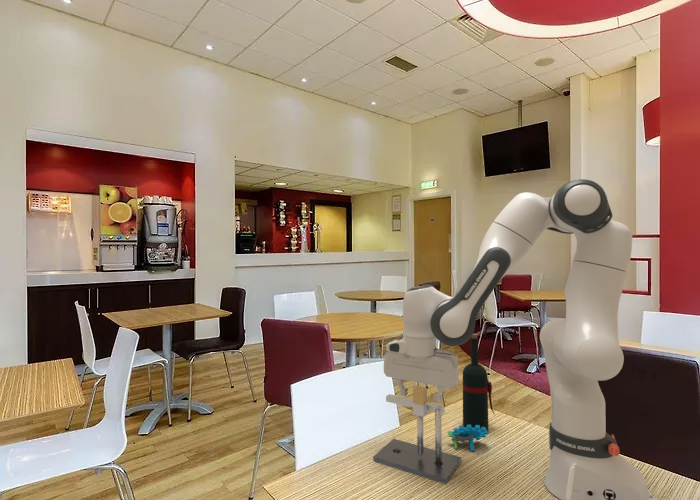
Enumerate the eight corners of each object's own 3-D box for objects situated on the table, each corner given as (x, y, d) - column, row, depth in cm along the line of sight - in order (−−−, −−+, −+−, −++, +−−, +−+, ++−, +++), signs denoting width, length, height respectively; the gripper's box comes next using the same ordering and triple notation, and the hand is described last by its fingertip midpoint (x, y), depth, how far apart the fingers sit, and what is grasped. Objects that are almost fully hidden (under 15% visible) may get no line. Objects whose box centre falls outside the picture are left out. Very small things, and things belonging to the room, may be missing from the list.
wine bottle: (499, 435, 120) (498, 336, 120) (466, 435, 120) (465, 336, 120) (490, 424, 127) (489, 331, 128) (459, 424, 128) (458, 331, 128)
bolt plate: (461, 461, 105) (460, 457, 105) (445, 484, 94) (445, 478, 94) (393, 442, 115) (393, 438, 115) (373, 460, 105) (373, 456, 105)
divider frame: (446, 458, 104) (445, 405, 104) (440, 465, 101) (440, 411, 101) (389, 442, 113) (389, 394, 113) (382, 448, 110) (382, 398, 110)
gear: (487, 435, 116) (486, 421, 110) (491, 456, 112) (491, 443, 105) (449, 437, 119) (446, 423, 112) (452, 458, 114) (449, 445, 108)
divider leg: (427, 455, 105) (426, 387, 105) (424, 459, 103) (423, 390, 103) (417, 452, 106) (416, 385, 106) (413, 455, 104) (412, 388, 104)
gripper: (461, 348, 102) (462, 402, 102) (391, 339, 113) (391, 388, 113) (454, 354, 96) (454, 410, 96) (380, 344, 108) (381, 394, 107)
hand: (420, 398), depth 105 cm, fingers open, 8 cm apart
